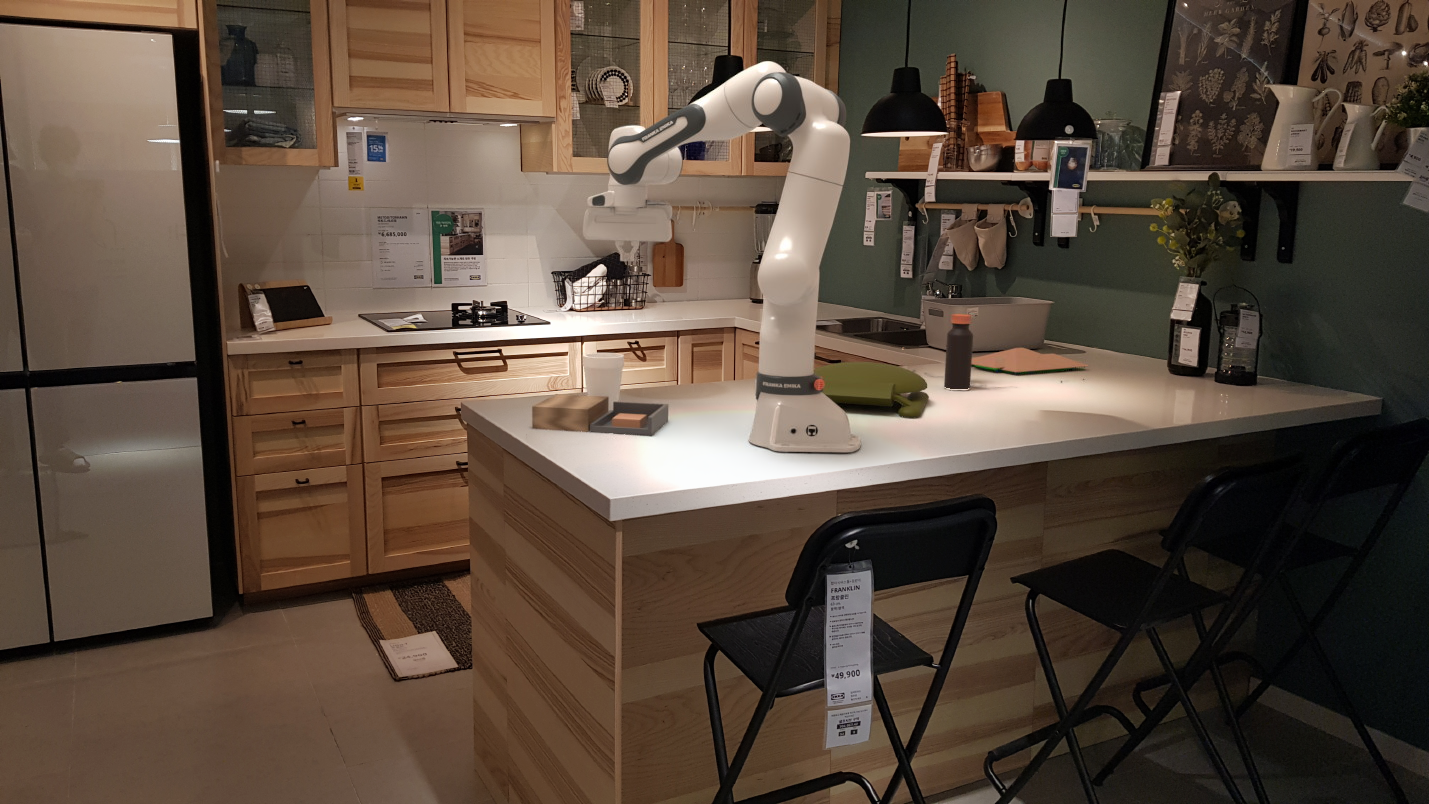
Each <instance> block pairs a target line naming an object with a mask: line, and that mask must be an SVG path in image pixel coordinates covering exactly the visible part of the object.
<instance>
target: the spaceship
mask: <svg viewBox="0 0 1429 804" xmlns="http://www.w3.org/2000/svg"><path fill="white" fill-rule="evenodd" d="M814 373H815V374H816V375H818V376H820V377H822V378H823V379H824V383H825V385H824V388H823V392H822V393H823V394H825V395H826V396H827V397H828V398H829V399H831V400H832V401H833V402H834V403H835V404H849V405H850V404H851V405H862V406H863V405H865V406H866V405H867V406H878V407H892V406H893V404H894V403H898V404H900V405H901V407H900V408H899V409H898V411H897V413H898V415H899V416H900V417H902V416H903V417H902V418H905V417H916V418H919V417H918V416H921V415H922V412H923V410H924V408H925V407H926V404H927V402H928V400H929V398H930V396H929V394H928V393H926V392H925V390H926V389H927V388H928V383H927V381H926V380H925V379H924V377H922V376H921V375H920V374H918V373H917V372H914V371H913V370H910V369H908V368H904V367H901V366H898V365H892V364H887V363H882V362H874V361H873V362H871V361H870V362H869V361H846V362H838V363H836V362H835V363H831V364H827V365H823V366H819V367H817V368H814ZM902 394H908V395H907V397H905V396H904V395H902ZM895 401H896V402H895Z"/></svg>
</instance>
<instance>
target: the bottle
mask: <svg viewBox="0 0 1429 804" xmlns="http://www.w3.org/2000/svg"><path fill="white" fill-rule="evenodd" d="M971 319H972V316H971V314H963V313H955V314H953V313H952V314H951V321H950V322H951V325H952V328H951V329H949V331H948V332H947V333H946V351H945V365H944V366H945V367H944V383H943V384H944V385H943V387H946V388H950V389H968V388H970V389H971V377H972V375H971V374H972V364H971V363H972V358H973V344H974V333H973V332H972V331H971V330H970V328H969V327H970V326H971Z"/></svg>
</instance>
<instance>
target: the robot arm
mask: <svg viewBox="0 0 1429 804" xmlns="http://www.w3.org/2000/svg"><path fill="white" fill-rule="evenodd" d="M846 120H847V108H846V105H845V103H844V101H843V100H842V99H841V98H840V97H839V96H838V95H837V94H836V93H835V92H834V91H832V90H829V89H827V88H824V87H823V86H821V85H819V84H817V83H815V82H814V81H812V80H810V79H807V78H804V77H801V76H796V75H793V74H791V73H788V72H787V71H786V70H785V69H784V68H783V67H782V66H781V65H780V64H779V63H776V62H774V61H769V60H768V61H767V60H766V61H761V62H760V63H757V64H756V63H755V65H754V64H753V65H752V66H749V67H747V68H745V69H744V70H742V71H740V72H738V73H737V74H736V75H734V76H732V77H730V78H729V79H728V80H726V81H725V82H724V83H722V84H721V85H719V86H718V87H716V88H714V90H712V91H710V92H708V93H707V94H706V95H704V96H702V97H701V98H699V99H696V100H695V101H693V102H691V103H690V104H688V105H686V106H684V107H682V108H680V109H678V110H676V111H675V112H673V113H671V114H669V115H668V116H665V117H664V118H662V119H661V120H659V121H658V122H657V121H656V122H655V123H654V124H652V125H651V126H648V127H647V128H645V126H642V125H641V124H628V125H626V124H625V125H621V126H618V127H615V128H614V129H613V130H612V132H611V134H610V137H609V142H608V150H607V151H608V153H607V157H606V164H607V168H608V169H607V170H608V171H609V180H608V184H607V191H604V192H602V193H598V194H595V195H592V196H589V197H588V198H587V200H586V201H587V206H588V208H587V209H586V211H585V212H584V216H583V222H582V223H583V224H582V237H584V239H585V240H590V241H592V240H593V241H614V242H615V247H616V249H617V251H618V253H619V254H620V256H619V260H620V262H634V261H635V254H636V252H637V251H638V249H639V247H640V242H662V243H663V242H664V243H667V242H670V240H671V239H672V238H673V229H672V222H671V220H672V218H673V212H674V211H673V210H674V209H673V206H672V204H671V203H669V202H667V200H664V199H660V200H656V199H648V185H652V186H653V185H656V186H657V185H659V186H660V185H661V186H662V185H668V184H673V183H674V182H676V181H677V180H678V178H679V177H680V175H682V171H683V165H684V158H683V154H682V151H681V149H680V148H679V147H680V146H682V145H685V144H688V143H693V142H694V143H695V142H704V141H705V142H706V141H707V142H708V141H730V140H733V139H736V138H739V137H742V136H745V135H747V134H748V133H750V132H752V131H753V130H755V129H756V128H758V127H759V126H760V125H762V124H763V126H765V127H766V128H768V129H770V130H771V131H773V133H775V134H777V135H778V136H779V137H782V138H783V137H789V139H790V141H791V143H792V147H793V148H792V149H793V150H792V155H791V160H790V162H789V167H788V169H787V174H786V177H785V181H784V185H783V189H782V192H781V195H780V196H781V197H780V199H779V203H778V204H779V205H778V207H777V208H778V209H777V210H776V214H775V217H774V221H773V224H772V226H771V230H770V232H769V236H768V238H767V242H766V244H765V248H764V250H763V254H762V258H761V261H760V264H759V269H758V271H757V283H758V287H759V290H760V292H761V294H762V295H763V303H762V312H761V323H760V330H759V347H758V349H759V351H758V371H757V373H756V377H755V383H754V384H755V385H754V386H755V387H754V388H755V391H754V392H755V393H754V395H755V399H756V406H755V413H754V418H753V422H752V423H753V424H752V428H751V432H750V435H749V437H748V442H750V443H751V444H753V445H755V446H759V447H762V448H766V449H769V450H771V451H774V452H791V453H792V452H795V453H797V452H800V453H801V452H802V453H804V452H805V453H808V452H809V453H810V452H811V453H852V452H856V451H858V450H859V449H860V448H861V438H860V437H858V435H856V434H851V427H850V420H849V417H848V414H847V413H846V411H845V410H844V409H843V408H841V407H840V406H839V405H838V403H834V402H833V401H832V400H831V399H829V398H828V397H827V396H826V395H825V394H823V393H822V392H823V388H824V385H825V383H824V379H823V378H822V377H820V376H818V375H816V374H815V373H814V370H815V351H816V350H815V349H816V348H815V344H816V329H817V317H818V315H817V314H818V306H819V303H818V301H819V291H820V290H819V288H820V286H819V285H820V266H821V262H822V258H823V255H824V252H825V249H826V245H827V242H828V239H829V236H830V233H831V229H832V227H833V223H834V220H835V216H836V212H837V209H838V205H839V201H840V198H841V194H842V191H843V186H844V183H845V179H846V174H847V170H848V169H847V168H848V164H849V158H850V157H849V156H850V150H851V149H850V148H851V147H850V145H851V138H850V134H849V132H848V131H847V130H846V129H845V128H844V127H845V125H846ZM624 241H625V242H626V241H628V242H630V246H632V248H631V251H630V252H625V250H624V249H623V247H622V246H624V245H625V242H624Z"/></svg>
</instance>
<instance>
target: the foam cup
mask: <svg viewBox="0 0 1429 804" xmlns="http://www.w3.org/2000/svg"><path fill="white" fill-rule="evenodd" d="M582 367H583V370H584V378H585V386H586V393H587V394H586V396H605V397H609V411H610V410H613V402H614V401H616V402H620V401H619V400H620V391H621V386H622V385H621V383H622V378H623V377H622V376H623V369H624V367H625V354H623V353H616V352H590V353H588V352H587V353H584V354H582Z"/></svg>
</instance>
